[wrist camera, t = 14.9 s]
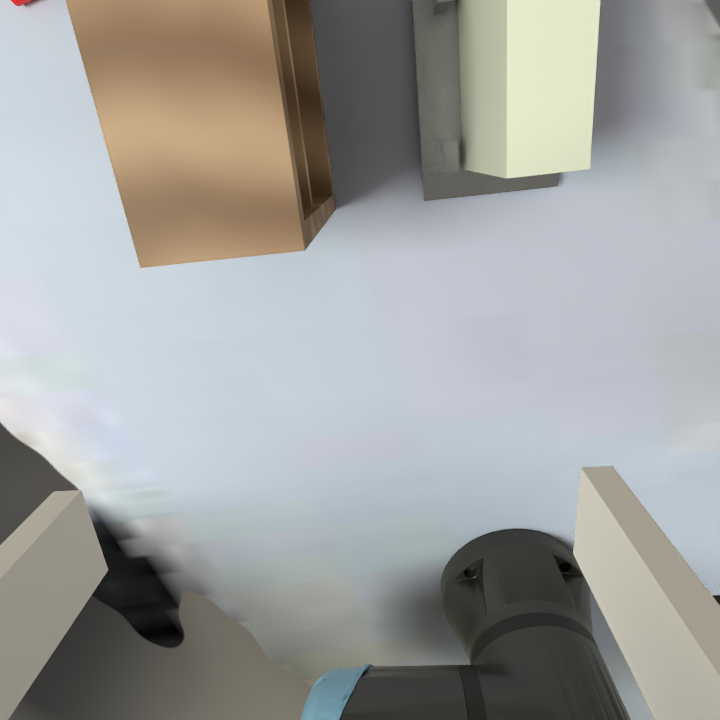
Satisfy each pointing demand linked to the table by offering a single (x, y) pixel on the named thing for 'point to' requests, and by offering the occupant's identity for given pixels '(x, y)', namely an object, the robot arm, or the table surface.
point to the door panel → (527, 85)
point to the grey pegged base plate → (448, 110)
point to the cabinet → (210, 123)
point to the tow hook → (20, 2)
